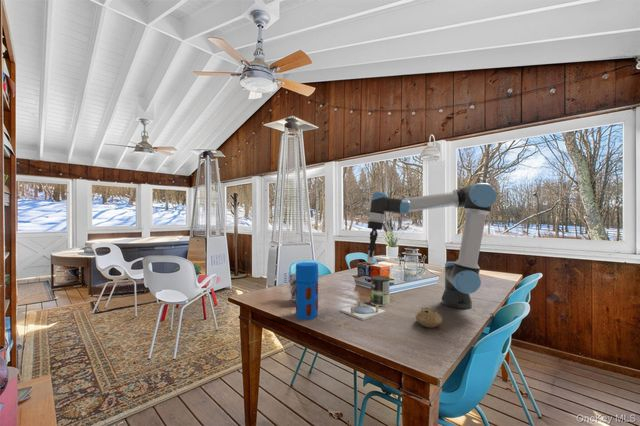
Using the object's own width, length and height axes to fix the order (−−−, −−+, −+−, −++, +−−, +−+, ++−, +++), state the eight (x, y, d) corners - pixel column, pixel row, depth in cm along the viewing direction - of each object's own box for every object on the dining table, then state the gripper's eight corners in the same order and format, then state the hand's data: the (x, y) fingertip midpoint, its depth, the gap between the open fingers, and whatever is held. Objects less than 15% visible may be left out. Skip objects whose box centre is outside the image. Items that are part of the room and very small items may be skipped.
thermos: (321, 313, 144) (321, 263, 144) (312, 321, 135) (312, 266, 134) (302, 310, 149) (302, 261, 149) (291, 317, 139) (291, 265, 139)
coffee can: (373, 306, 156) (373, 279, 156) (368, 300, 166) (368, 275, 166) (392, 305, 157) (392, 279, 156) (386, 300, 167) (386, 275, 167)
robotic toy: (304, 296, 174) (304, 271, 174) (314, 305, 158) (314, 277, 158) (283, 298, 170) (283, 272, 170) (291, 308, 153) (291, 279, 153)
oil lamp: (432, 318, 139) (432, 301, 139) (447, 331, 124) (447, 312, 124) (409, 318, 138) (409, 301, 138) (421, 331, 123) (421, 312, 123)
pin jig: (385, 312, 146) (385, 304, 146) (363, 320, 136) (363, 311, 136) (362, 304, 158) (362, 297, 158) (340, 311, 148) (340, 303, 148)
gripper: (368, 221, 166) (362, 258, 165) (368, 219, 141) (361, 263, 141) (382, 223, 165) (376, 260, 164) (384, 222, 140) (377, 266, 140)
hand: (369, 262), depth 152 cm, fingers open, 13 cm apart
